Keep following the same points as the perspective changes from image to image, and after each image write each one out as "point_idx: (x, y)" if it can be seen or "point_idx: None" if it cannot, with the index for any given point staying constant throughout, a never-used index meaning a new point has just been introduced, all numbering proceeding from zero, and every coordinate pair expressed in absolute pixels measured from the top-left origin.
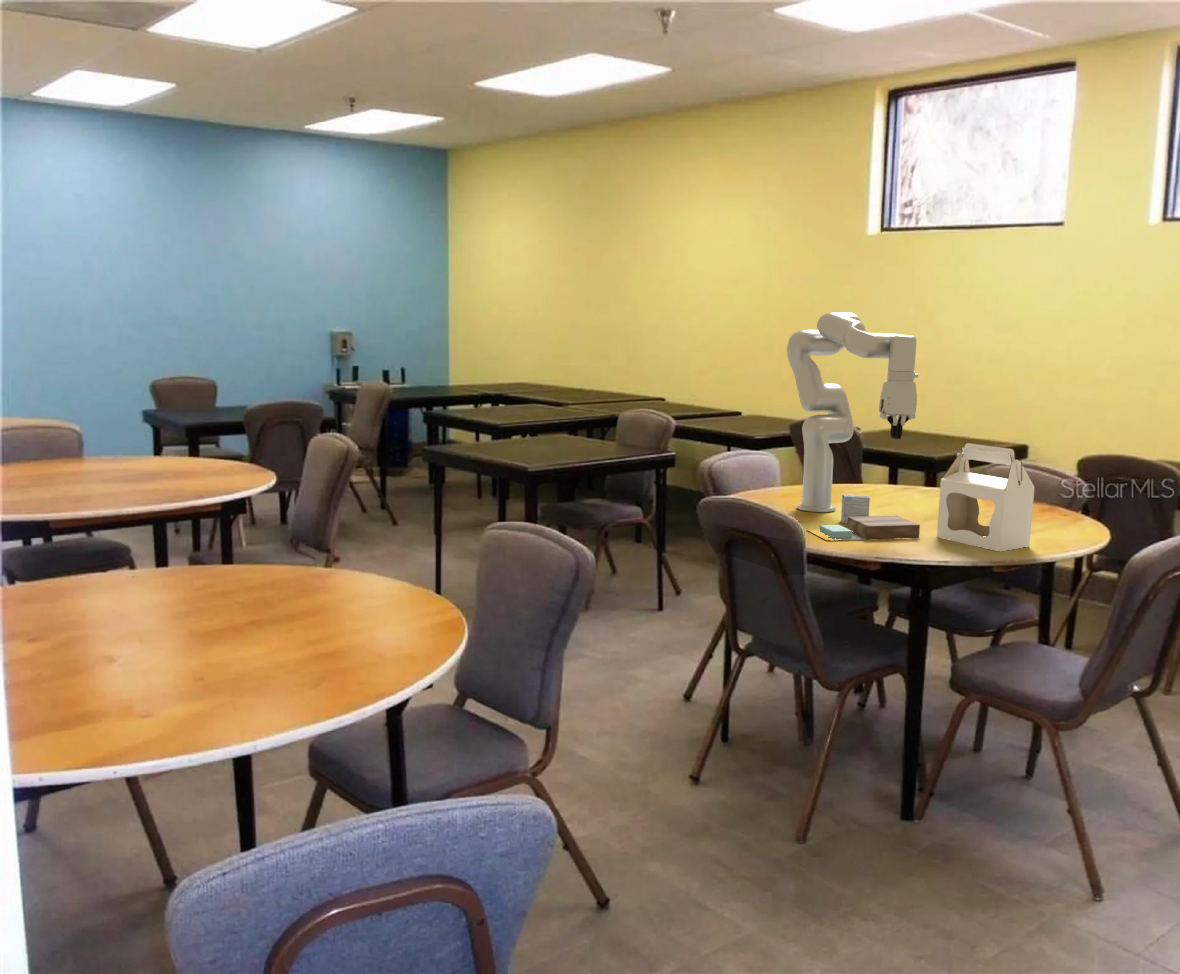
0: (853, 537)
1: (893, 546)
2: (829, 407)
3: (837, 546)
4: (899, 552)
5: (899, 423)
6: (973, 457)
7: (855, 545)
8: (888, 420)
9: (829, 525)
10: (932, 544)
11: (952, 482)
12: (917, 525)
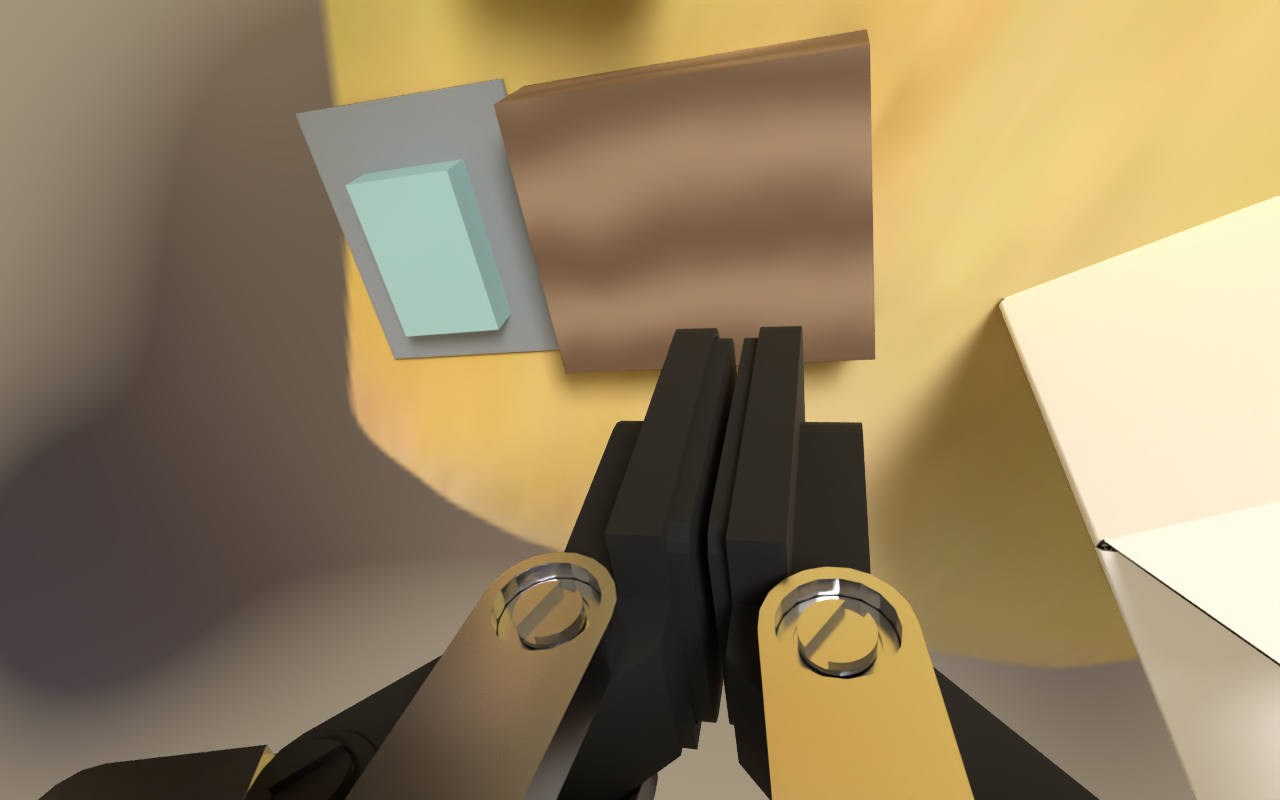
0: (520, 311)
1: None
2: None
3: (436, 437)
4: None
5: (750, 768)
6: None
7: (509, 428)
8: (394, 724)
9: (395, 192)
10: (871, 443)
11: (1126, 625)
12: (859, 357)
